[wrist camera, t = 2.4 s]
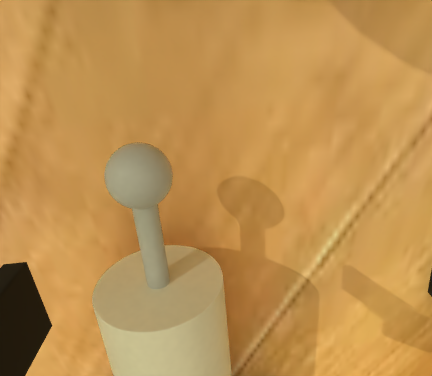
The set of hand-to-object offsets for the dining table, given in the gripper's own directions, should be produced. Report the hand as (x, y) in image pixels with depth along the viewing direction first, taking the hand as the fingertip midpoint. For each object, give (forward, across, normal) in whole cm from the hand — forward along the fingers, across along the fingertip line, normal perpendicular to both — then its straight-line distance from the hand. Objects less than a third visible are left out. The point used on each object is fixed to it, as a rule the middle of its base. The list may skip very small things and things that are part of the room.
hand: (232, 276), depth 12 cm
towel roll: (+11, -6, -29) cm, 32 cm away
